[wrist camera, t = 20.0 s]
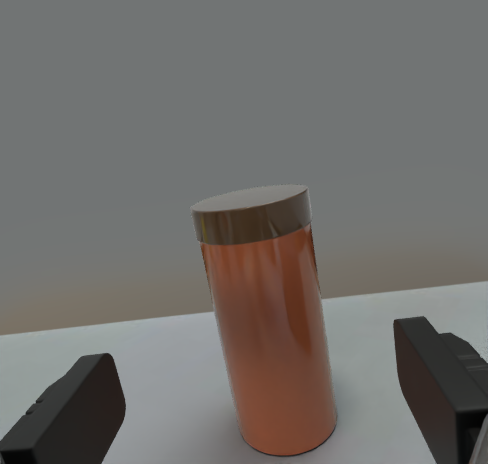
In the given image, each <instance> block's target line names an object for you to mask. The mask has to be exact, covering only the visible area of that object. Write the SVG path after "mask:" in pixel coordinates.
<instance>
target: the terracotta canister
mask: <svg viewBox="0 0 488 464" xmlns="http://www.w3.org/2000/svg"><path fill="white" fill-rule="evenodd" d="M191 215H192V220H193V225H194V229H195V234H196V238H197V240H198V241H199V242H200V247H201V251H202V256H203V261H204V265H205V270H206V274H207V280H208V284H209V289H210V294H211V299H212V303H213V308H214V313H215V318H216V322H217V327H218V332H219V337H220V341H221V346H222V351H223V356H224V360H225V365H226V370H227V375H228V379H229V384H230V389H231V394H232V398H233V403H234V408H235V413H236V417H237V422H238V427H239V430H240V433H241V435H242V437H243V438H244V440H245V441H246V442H247V443H248V444H249V445H250V446H252V447H253V448H255V449H257V450H259V451H261V452H264V453H267V454H271V455H280V456H286V455H296V454H300V453H303V452H306V451H309V450H311V449H313V448H315V447H317V446H318V445H320V444H321V443H323V442H324V441H325V440H326V439H327V438H328V437H329V436H330V435H331V433H332V432H333V430H334V428H335V425H336V422H337V409H336V402H335V394H334V387H333V380H332V373H331V366H330V358H329V351H328V344H327V337H326V330H325V322H324V315H323V308H322V301H321V294H320V287H319V279H318V272H317V265H316V258H315V250H314V244H313V236H312V229H311V221H312V212H311V205H310V197H309V190H308V187H307V186H304V185H298V184H287V185H286V184H285V185H274V186H273V185H272V186H264V187H257V188H251V189H245V190H240V191H235V192H230V193H226V194H222V195H218V196H215V197H211V198H208V199H205V200H203V201H200V202H198V203H196V204H194V205H193V206H192V207H191Z"/></svg>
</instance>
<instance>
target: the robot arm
mask: <svg viewBox="0 0 488 464" xmlns="http://www.w3.org/2000/svg"><path fill="white" fill-rule="evenodd" d="M393 328H394V339H395V350H396V361H397V372H398V378H399V382H400V386H401V390H402V393H403V395H404V397H405V399H406V401H407V404H408V406H409V408H410V410H411V412H412V414H413V416H414V418H415V420H416V422H417V424H418V426H419V428H420V430H421V432H422V434H423V436H424V439H425V441H426V443H427V445H428V447H429V449H430V451H431V453H432V455H433V457H434V459H435V461H436V463H437V464H488V363H487V362H486V361H485V360H484V359H483V358H481V357H480V355H479V354H478V353H477V351H476V350H475V349H474V348H473V347H472V346H471V345H470V344H469V343H468V342H467V341H465V340H463V339H461V338H459V337H457V336H455V335H453V334H452V333H442V334H438V332H437V331H436V330H435V329H434V327H433V326H432V325H431V324H430V323H429V321H428V320H427V319H426V318H425V317H424V316H421V317H412V318H404V319H396V320H394V324H393ZM125 410H126V404H125V398H124V394H123V390H122V387H121V383H120V380H119V376H118V373H117V369H116V366H115V362H114V359H113V357H112V356H111V355H110V354H109V353H103V354H95V355H86V356H82V357H80V358H79V359H78V361H77V362H76V363H75V364H74V365H73V366H72V368H71V369H70V370H69V371H68V372H67V373H66V375H64V376H63V377H62V378H60V379H59V380H57V381H56V382H55V383H53V384H52V385H51V386H49V387H48V388H47V389H46V390H45V391H44V392H43V393H42V395H41V396H40V397H39V398H38V399H37V400H36V404H33V405H32V406H31V407H30V408H29V409H28V410H27V412H26V415H23V416H22V417H21V418H20V419H19V421H18V422H17V423H16V424H15V425H14V426H13V427H12V429H11V430H10V431H9V432H8V433H7V434H6V435H5V436H4V438H3V439H2V440H1V441H0V464H101V463H102V461H103V459H104V457H105V455H106V454H107V452H108V450H109V448H110V446H111V444H112V442H113V440H114V438H115V436H116V434H117V432H118V431H119V429H120V427H121V425H122V423H123V420H124V417H125Z"/></svg>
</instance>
